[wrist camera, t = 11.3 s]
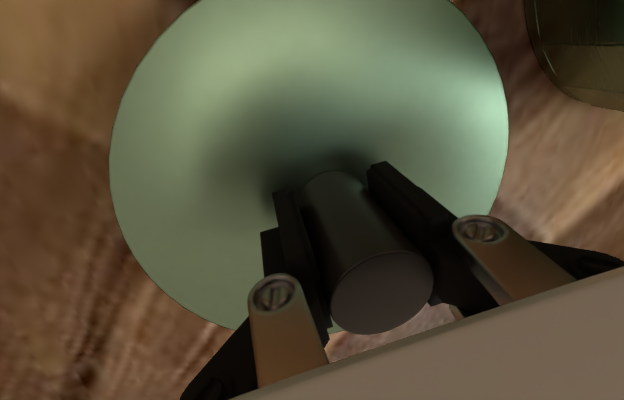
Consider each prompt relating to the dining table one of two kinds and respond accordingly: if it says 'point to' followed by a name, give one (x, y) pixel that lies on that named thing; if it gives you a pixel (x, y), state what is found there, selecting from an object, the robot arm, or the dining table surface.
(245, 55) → the lid
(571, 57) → the canister
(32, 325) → the dining table surface
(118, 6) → the dining table surface
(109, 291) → the dining table surface
